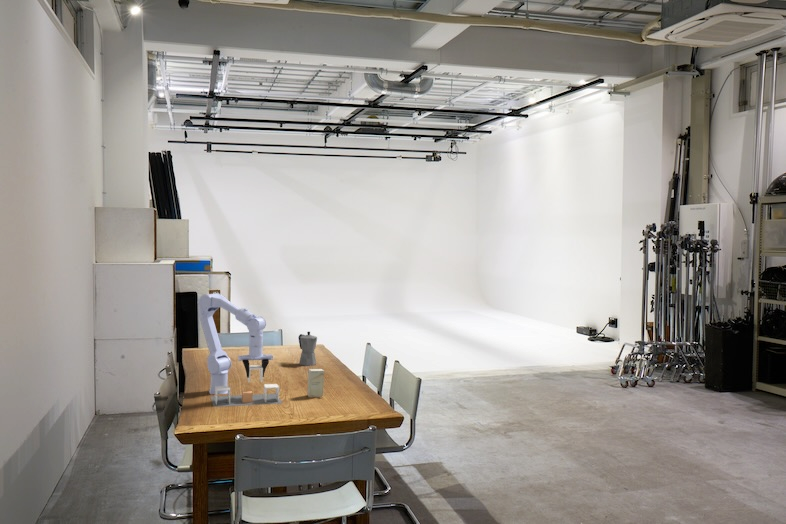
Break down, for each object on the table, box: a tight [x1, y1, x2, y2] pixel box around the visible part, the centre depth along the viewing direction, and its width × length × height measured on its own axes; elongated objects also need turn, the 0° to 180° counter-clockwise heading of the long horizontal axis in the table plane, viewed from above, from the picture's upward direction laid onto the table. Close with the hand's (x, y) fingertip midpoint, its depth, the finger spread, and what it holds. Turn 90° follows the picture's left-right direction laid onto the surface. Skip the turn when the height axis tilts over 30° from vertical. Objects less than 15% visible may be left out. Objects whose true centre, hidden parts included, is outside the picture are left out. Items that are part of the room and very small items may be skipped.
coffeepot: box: [298, 331, 318, 367], centre depth 362 cm, size 15×9×18 cm, turn 44°
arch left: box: [214, 385, 231, 405], centre depth 274 cm, size 6×6×6 cm
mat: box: [210, 393, 283, 408], centre depth 280 cm, size 17×28×1 cm, turn 109°
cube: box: [241, 390, 254, 403], centre depth 277 cm, size 4×4×4 cm
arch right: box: [263, 383, 280, 402], centre depth 280 cm, size 6×6×6 cm
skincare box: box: [307, 368, 325, 398], centre depth 291 cm, size 6×4×12 cm
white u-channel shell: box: [247, 364, 264, 384], centre depth 285 cm, size 6×6×6 cm
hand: (255, 376), depth 285 cm, fingers closed on white u-channel shell, 6 cm apart
